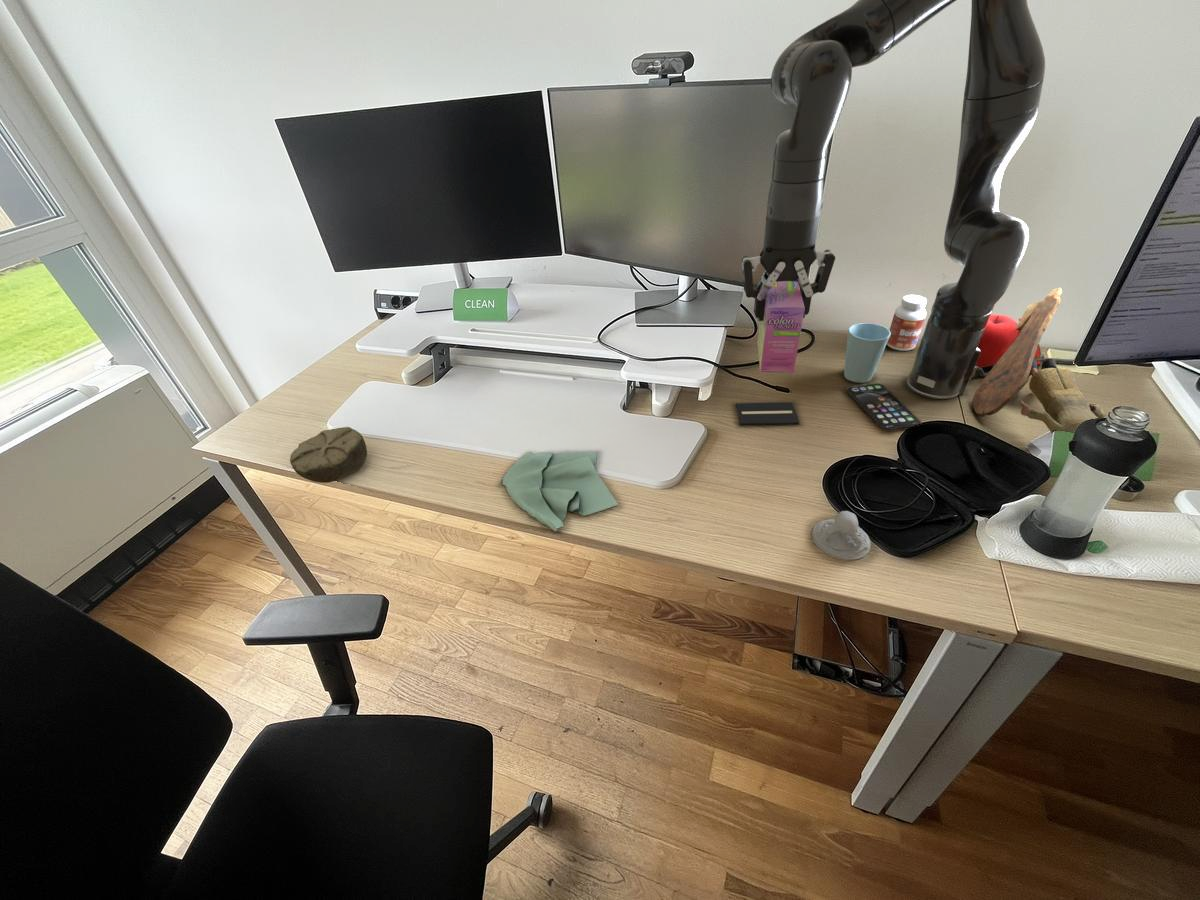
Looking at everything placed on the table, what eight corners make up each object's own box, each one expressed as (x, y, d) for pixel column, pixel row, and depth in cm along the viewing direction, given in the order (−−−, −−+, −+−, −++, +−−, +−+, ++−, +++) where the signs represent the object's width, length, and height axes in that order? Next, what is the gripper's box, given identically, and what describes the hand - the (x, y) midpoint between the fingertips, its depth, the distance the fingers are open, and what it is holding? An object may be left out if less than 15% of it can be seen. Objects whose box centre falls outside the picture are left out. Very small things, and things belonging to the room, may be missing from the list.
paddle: (956, 410, 100) (1029, 296, 106) (970, 421, 100) (1042, 307, 106) (993, 401, 92) (1070, 277, 97) (1008, 413, 92) (1084, 289, 97)
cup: (870, 389, 107) (882, 343, 101) (832, 379, 112) (842, 334, 105) (883, 373, 112) (896, 328, 105) (846, 364, 116) (857, 319, 109)
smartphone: (881, 382, 108) (923, 424, 96) (880, 385, 108) (922, 427, 96) (845, 387, 108) (884, 429, 96) (845, 389, 108) (883, 432, 96)
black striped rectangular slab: (791, 404, 106) (792, 401, 105) (799, 424, 100) (799, 422, 100) (735, 405, 107) (736, 402, 107) (740, 425, 102) (740, 423, 101)
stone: (373, 437, 99) (384, 459, 102) (339, 417, 106) (350, 438, 109) (307, 476, 91) (320, 498, 95) (276, 451, 99) (290, 473, 102)
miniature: (872, 527, 79) (880, 505, 76) (868, 566, 74) (877, 543, 71) (815, 514, 82) (821, 492, 79) (808, 550, 77) (814, 528, 74)
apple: (979, 348, 116) (998, 301, 109) (1017, 368, 109) (1040, 319, 102) (940, 357, 114) (958, 310, 108) (976, 378, 107) (997, 329, 100)
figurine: (993, 390, 104) (1050, 510, 84) (1012, 351, 97) (1078, 471, 77) (1061, 390, 101) (1136, 515, 81) (1084, 350, 94) (1173, 475, 74)
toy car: (1046, 366, 109) (1026, 371, 111) (1038, 346, 111) (1020, 351, 113) (1038, 332, 101) (1018, 338, 103) (1031, 312, 104) (1011, 318, 106)
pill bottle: (894, 353, 118) (908, 306, 111) (880, 340, 123) (893, 294, 116) (921, 350, 118) (937, 302, 111) (906, 337, 123) (920, 291, 116)
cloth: (518, 448, 102) (515, 438, 100) (630, 454, 97) (629, 444, 96) (479, 526, 86) (476, 515, 85) (610, 537, 82) (609, 526, 80)
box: (795, 373, 88) (805, 306, 81) (759, 373, 89) (766, 307, 82) (789, 343, 96) (798, 280, 88) (757, 343, 97) (762, 281, 90)
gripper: (837, 200, 79) (819, 305, 90) (739, 208, 81) (733, 311, 91) (852, 214, 74) (831, 325, 84) (747, 223, 75) (739, 330, 86)
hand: (780, 317), depth 88 cm, fingers closed on box, 6 cm apart
